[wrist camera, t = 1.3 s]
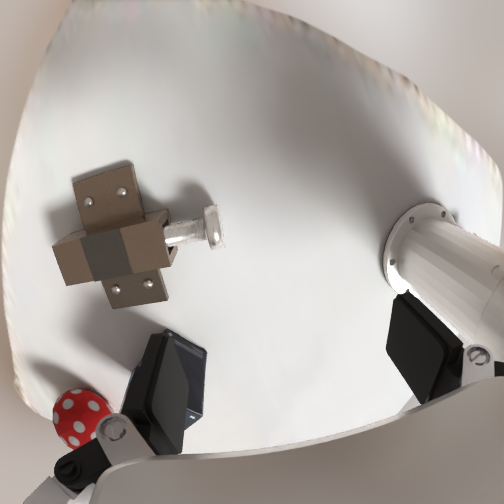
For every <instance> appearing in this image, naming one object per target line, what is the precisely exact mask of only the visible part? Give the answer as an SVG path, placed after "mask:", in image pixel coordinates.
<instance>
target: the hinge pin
mask: <svg viewBox="0 0 504 504" xmlns="http://www.w3.org/2000/svg"><path fill="white" fill-rule="evenodd" d="M203 214H204V219H203V218H202V219H197V220H192V221H187V222H182V223H177V224H173V225H168V226H163V227H162V228H163V232H164V236H165V240H166V244H167V247H172V246H177V245H182V244H187V243H192V242H197V241H202V240H207V238H208V242H209V245H210V248H211V250H213V249H218V248H223V247H225V242H224V235H223V229H222V224H221V219H220V214H219V210H218V206H217V205H212V206H207V207H204V208H203Z"/></svg>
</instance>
